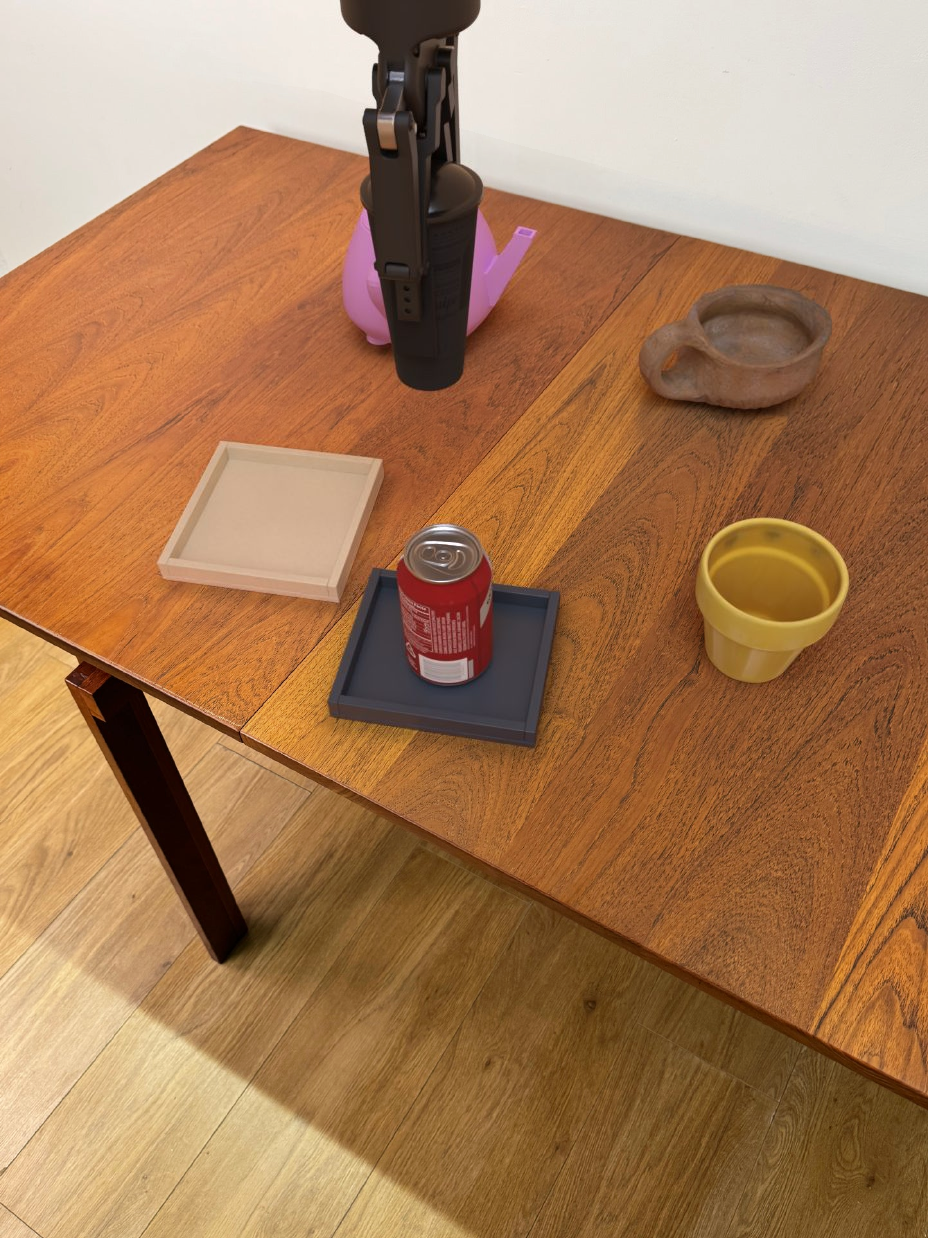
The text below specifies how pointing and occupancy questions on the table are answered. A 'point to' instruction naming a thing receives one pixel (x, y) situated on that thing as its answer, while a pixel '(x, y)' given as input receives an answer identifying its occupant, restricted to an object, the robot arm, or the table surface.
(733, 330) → the bowl
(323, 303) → the table surface
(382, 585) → the can tray
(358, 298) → the teapot
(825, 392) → the table surface
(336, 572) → the cup tray
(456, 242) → the drinking cup
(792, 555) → the flower pot
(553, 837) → the table surface
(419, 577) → the soda can
